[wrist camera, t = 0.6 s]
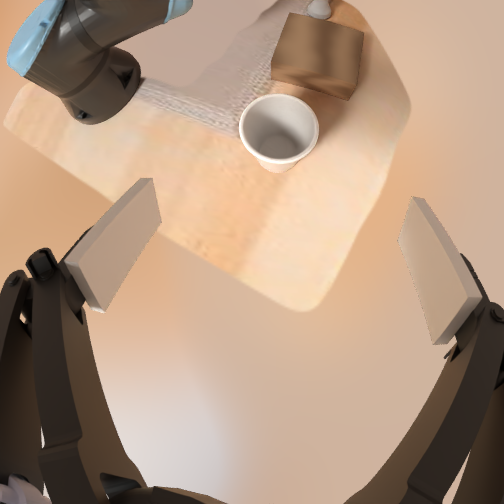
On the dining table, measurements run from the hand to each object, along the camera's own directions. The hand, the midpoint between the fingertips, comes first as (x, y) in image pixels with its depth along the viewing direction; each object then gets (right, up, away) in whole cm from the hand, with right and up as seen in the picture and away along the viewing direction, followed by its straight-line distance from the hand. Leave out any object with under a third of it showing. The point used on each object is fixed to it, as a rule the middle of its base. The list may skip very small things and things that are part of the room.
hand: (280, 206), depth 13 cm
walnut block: (+9, +28, +22) cm, 36 cm away
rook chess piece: (+11, +41, +21) cm, 47 cm away
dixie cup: (+2, +11, +23) cm, 26 cm away
